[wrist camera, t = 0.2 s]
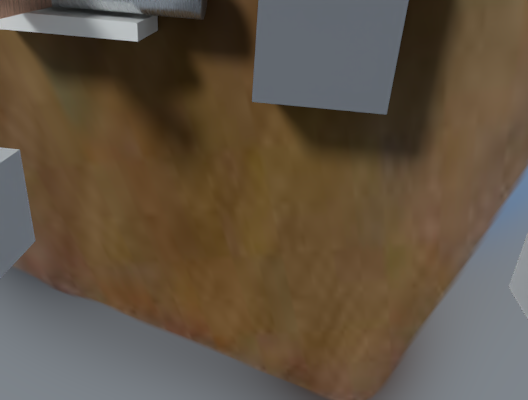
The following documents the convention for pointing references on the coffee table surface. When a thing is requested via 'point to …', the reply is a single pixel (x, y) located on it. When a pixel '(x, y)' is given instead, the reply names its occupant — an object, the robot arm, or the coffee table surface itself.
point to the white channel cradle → (84, 23)
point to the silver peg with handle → (112, 7)
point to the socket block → (328, 53)
